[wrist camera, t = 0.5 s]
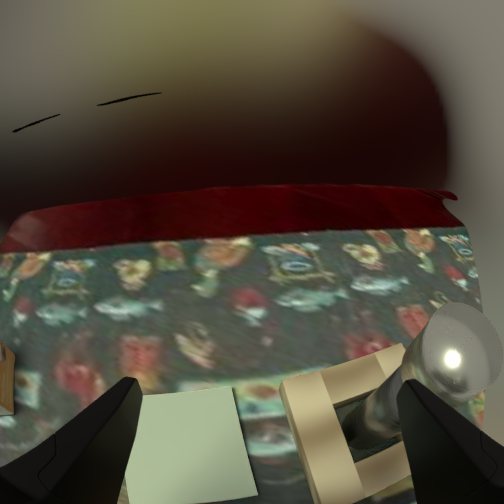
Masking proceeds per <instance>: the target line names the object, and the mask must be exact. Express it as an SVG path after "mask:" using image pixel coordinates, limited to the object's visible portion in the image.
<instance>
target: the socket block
mask: <svg viewBox="0 0 504 504" xmlns="http://www.w3.org/2000/svg"><path fill="white" fill-rule="evenodd" d="M404 353H405V349H404V347H403V345H402V343H399V344H397V345H394V346H392V347H389V348H386V349H384V350H381V351H378V352H375V353H373V354H370V355H367V356H364V357H361V358H358V359H355V360H352V361H349V362H346V363H342V364H339V365H336V366H333V367H329V368H326V369H322V370H319V371H315V372H311V373H308V374H304V375H300V376H296V377H292V378H288V379H284V380H282V381H281V384H280V388H279V393H280V396H281V399H282V402H283V406H284V409H285V412H286V415H287V419H288V422H289V425H290V428H291V432H292V435H293V438H294V441H295V444H296V448H297V451H298V454H299V457H300V460H301V463H302V466H303V470H304V473H305V476H306V479H307V482H308V485H309V488H310V491H311V495H312V498H313V501H314V504H352V503H355V502H357V501H360V500H362V499H364V498H366V497H368V496H371V495H373V494H375V493H377V492H379V491H381V490H383V489H385V488H387V487H389V486H391V485H393V484H395V483H396V482H398V481H400V480H402V479H404V478H405V477H407V476H409V475H411V471H410V467H409V463H408V458H407V454H406V450H405V446H404V442H403V438H402V433H400V434H398V435H396V437H397V440H398V442H397V443H396V444H394V445H392V446H390V447H388V448H386V449H384V450H381V451H379V452H377V453H375V454H373V455H371V456H368V457H366V458H364V459H362V460H359V461H357V462H353V459H352V456H351V453H350V451H349V448H348V445H347V442H346V440H345V437H344V434H343V432H342V429H341V426H340V424H339V421H338V418H337V416H336V413H335V410H334V409H337V408H340V407H343V406H345V405H348V404H351V403H354V402H356V401H359V400H362V399H364V398H367V397H369V396H370V395H371V394H372V393H373V392H374V391H375V390H376V389H377V388H378V387H379V386H380V385H381V384H382V383H383V382H384V381H385V380H386V379H387V378H388V377H389V376H390V375H391V374H392V373H393V372H394V371H395V370H396V369H397V368H398V367H399V366H400V365H401V363H402V358H403V355H404Z"/></svg>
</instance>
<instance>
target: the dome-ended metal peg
mask: <svg viewBox="0 0 504 504" xmlns="http://www.w3.org/2000/svg"><path fill="white" fill-rule="evenodd" d="M502 363H503V352H502V346H501V342H500V339H499V336H498V334H497V332H496V330H495V328H494V327H493V325H492V324H491V322H490V321H489V320H488V319H487V318H486V317H485V316H484V315H483V314H482V313H481V312H480V311H478V310H477V309H475V308H473V307H472V306H469V305H467V304H463V303H457V302H453V303H448V304H445V305H443V306H441V307H440V308H439V309H438V310H437V311H436V312H435V313H434V315H433V316H432V317H431V319H430V320H429V321H428V323H427V324H426V325H425V327H424V328H423V329H422V330H421V332H420V333H419V334H418V335H417V337H416V338H415V339H414V340H413V341H412V343H411V344H410V345H409V346H408V348H407V349H406V351H405V353H404V355H403V358H402V363H401V365H400V366H399V367H398V368H397V369H396V370H395V371H394V372H393V373H392V374H391V375H390V376H389V377H388V378H387V379H386V380H385V381H384V382H383V383H382V384H381V385H380V386H379V387H378V388H377V389H376V390H375V391H374V392H373V393H372V394H371V395H370V396H369V397H367V398H366V399H365V400H364V401H363V402H362V403H361V404H360V405H359V406H357V407H356V408H355V409H354V410H353V411H352V412H350V413H349V414H348V415H347V416H346V417H345V419H344V421H343V423H342V427H341V429H342V432H343V434H344V437H345V440H346V442H347V444H348V445H349V446H350V447H352V448H355V449H368V448H370V447H373V446H375V445H377V444H379V443H382V442H384V441H386V440H388V439H390V438H392V437H394V436H396V435H398V434H400V433H401V427H400V421H399V414H398V408H397V403H396V396H397V393H398V392H399V390H400V388H401V386H402V384H403V383H404V381H405V380H409V379H416V380H418V381H419V382H420V383H422V384H423V385H424V386H426V387H427V388H428V389H429V390H431V391H432V392H433V393H434V394H436V395H437V396H438V397H440V398H441V399H442V400H443V401H445V402H446V403H447V404H448V405H450V406H451V407H452V408H453V409H456V408H458V407H460V406H461V405H463V404H464V403H466V402H467V401H469V400H470V399H472V398H473V397H475V396H476V395H478V394H479V393H480V392H482V391H483V390H485V389H486V388H487V387H489V386H490V385H491V384H492V383H493V382H494V381H495V380H496V378H497V377H498V375H499V373H500V371H501V368H502Z"/></svg>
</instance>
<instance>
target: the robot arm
mask: <svg viewBox="0 0 504 504" xmlns="http://www.w3.org/2000/svg"><path fill="white" fill-rule="evenodd" d="M142 400H143V394H142V391H141V388H140V385H139V383H138V380H137V379H136V378H132V377H124V378H122V379H121V380H120V381H119V382H117V383H116V384H115V385H114V386H113V387H111V388H110V389H109V390H108V391H106V392H105V393H104V394H103V395H101V396H100V397H99V398H98V399H96V400H95V401H94V402H93V403H92V404H90V405H89V406H88V407H87V408H85V409H84V410H83V411H82V412H80V413H79V414H78V415H77V416H75V417H74V418H73V419H72V420H70V421H69V422H68V423H67V424H65V425H64V426H63V427H62V428H60V429H59V430H58V431H56V432H55V434H53V435H51V436H50V437H49V438H47V439H46V440H45V441H43V442H42V443H41V444H39V445H38V446H37V447H35V448H33V449H32V450H30V451H29V452H27V453H25V454H24V455H22V456H20V457H19V458H17V459H15V460H13V461H12V462H10V463H8V464H6V465H4V466H2V467H0V504H117V501H118V497H119V493H120V490H121V486H122V482H123V479H124V475H125V472H126V468H127V464H128V461H129V458H130V454H131V451H132V448H133V444H134V441H135V437H136V433H137V427H138V421H139V416H140V411H141V405H142ZM396 403H397V408H398V414H399V421H400V427H401V433H402V438H403V442H404V446H405V450H406V454H407V458H408V463H409V467H410V471H411V476H412V481H413V486H414V491H415V496H416V501H417V504H504V447H503V446H502V445H500V444H499V443H497V442H496V441H495V440H493V439H492V438H490V437H489V436H488V435H487V434H485V433H484V432H483V431H480V429H479V428H478V427H476V426H475V425H474V424H472V423H471V422H470V421H469V420H467V419H466V418H465V417H464V416H462V415H461V414H460V413H459V412H457V411H456V410H455V409H453V408H452V407H451V406H450V405H448V404H447V403H446V402H445V401H443V400H442V399H441V398H440V397H438V396H437V395H436V394H434V393H433V392H432V391H431V390H429V389H428V388H427V387H426V386H424V385H423V384H422V383H420V382H419V381H418V380H416V379H409V380H405V381H404V383H403V384H402V386H401V388H400V390H399V392H398V393H397V396H396Z"/></svg>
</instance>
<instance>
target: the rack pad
mask: <svg viewBox="0 0 504 504" xmlns="http://www.w3.org/2000/svg"><path fill="white" fill-rule="evenodd" d="M125 477H126V484H127V491H128V497H129V502H130V504H195V503H207V502H216V501H225V500H232V499H238V498H244V497H250V496H255V495H258V493H257V489H256V485H255V482H254V478H253V474H252V471H251V467H250V463H249V459H248V455H247V451H246V448H245V444H244V439H243V435H242V431H241V427H240V423H239V419H238V414H237V410H236V406H235V401H234V397H233V392H232V388H231V385H230V386H224V387H217V388H211V389H203V390H196V391H188V392H179V393H169V394H158V395H144V396H143V400H142V405H141V411H140V416H139V421H138V427H137V433H136V437H135V441H134V444H133V448H132V451H131V454H130V458H129V461H128V464H127V468H126V472H125Z"/></svg>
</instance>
